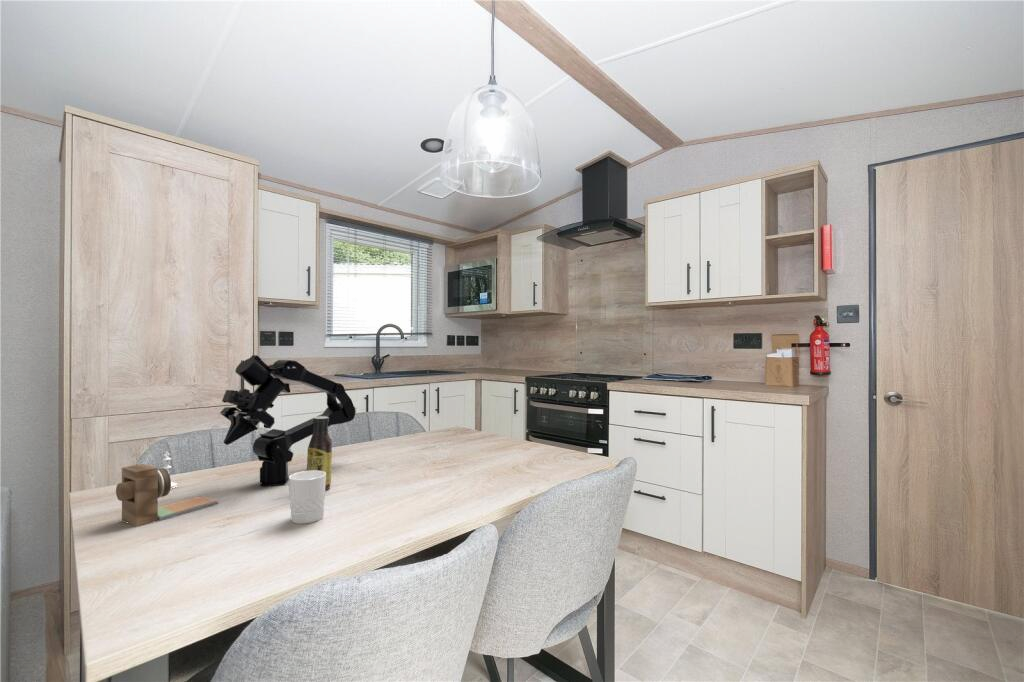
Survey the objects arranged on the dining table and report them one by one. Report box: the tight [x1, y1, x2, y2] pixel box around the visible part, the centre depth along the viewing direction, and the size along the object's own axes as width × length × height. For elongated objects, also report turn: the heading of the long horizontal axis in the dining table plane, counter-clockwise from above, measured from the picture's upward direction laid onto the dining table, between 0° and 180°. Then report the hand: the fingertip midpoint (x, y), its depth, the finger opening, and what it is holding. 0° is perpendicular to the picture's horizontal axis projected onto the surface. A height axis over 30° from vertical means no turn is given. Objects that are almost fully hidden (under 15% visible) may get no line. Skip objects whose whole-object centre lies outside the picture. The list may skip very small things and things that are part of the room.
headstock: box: [121, 463, 159, 527], centre depth 106 cm, size 4×7×12 cm, turn 61°
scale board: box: [158, 495, 219, 521], centre depth 114 cm, size 13×8×1 cm, turn 151°
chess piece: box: [161, 451, 178, 490], centre depth 130 cm, size 5×5×10 cm
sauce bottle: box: [306, 415, 333, 491], centre depth 129 cm, size 6×6×20 cm
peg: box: [115, 468, 172, 502], centre depth 107 cm, size 8×6×6 cm
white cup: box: [288, 470, 326, 525], centre depth 108 cm, size 8×8×10 cm
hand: (225, 443), depth 123 cm, fingers closed
